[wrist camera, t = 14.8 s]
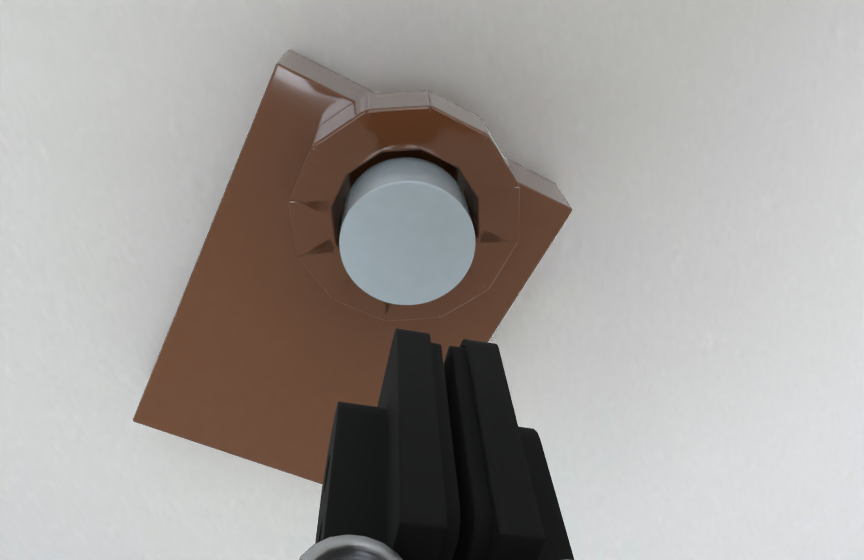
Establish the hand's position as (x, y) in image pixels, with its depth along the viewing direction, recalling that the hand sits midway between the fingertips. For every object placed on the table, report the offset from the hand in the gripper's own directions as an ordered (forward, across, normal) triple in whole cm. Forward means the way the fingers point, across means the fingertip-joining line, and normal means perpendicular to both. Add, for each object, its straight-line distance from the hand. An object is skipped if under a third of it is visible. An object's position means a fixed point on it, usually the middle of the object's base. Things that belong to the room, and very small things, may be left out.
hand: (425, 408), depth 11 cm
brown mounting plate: (+13, +1, +5) cm, 15 cm away
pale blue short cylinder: (+9, 0, +1) cm, 9 cm away
